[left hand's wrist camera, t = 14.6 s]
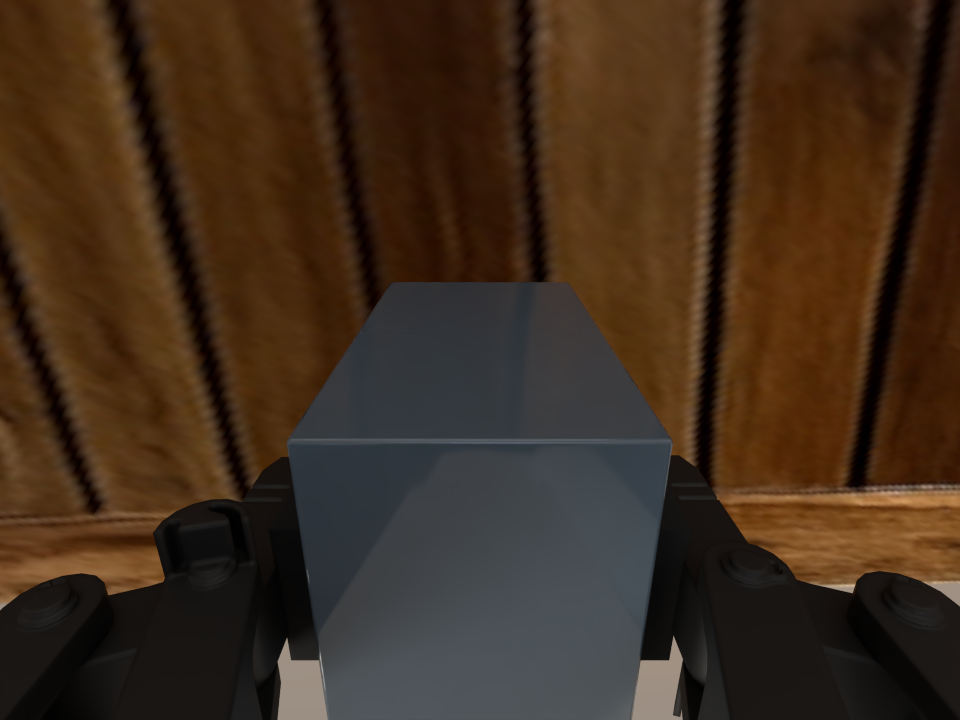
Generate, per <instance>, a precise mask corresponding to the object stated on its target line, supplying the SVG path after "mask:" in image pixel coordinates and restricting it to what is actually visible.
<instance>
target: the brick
mask: <svg viewBox="0 0 960 720" xmlns="http://www.w3.org/2000/svg"><path fill="white" fill-rule="evenodd" d="M672 444H673V442H672V439H671V437H670V436H669V434H668V433H667V431H666V430H665V428H664V427H663V425H662V424H661V422H660V421H659V419H658V418H657V416H656V414H655V413H654V411H653V410H652V408H651V407H650V405H649V404H648V402H647V401H646V399H645V398H644V396H643V395H642V393H641V392H640V390H639V389H638V387H637V386H636V384H635V383H634V381H633V380H632V378H631V377H630V375H629V374H628V372H627V371H626V369H625V368H624V366H623V364H622V363H621V361H620V360H619V358H618V357H617V355H616V354H615V352H614V351H613V349H612V348H611V346H610V345H609V343H608V342H607V340H606V339H605V337H604V336H603V334H602V333H601V331H600V330H599V328H598V327H597V325H596V324H595V322H594V321H593V319H592V317H591V316H590V314H589V313H588V311H587V310H586V308H585V307H584V305H583V304H582V302H581V301H580V299H579V298H578V296H577V295H576V293H575V292H574V290H573V289H572V287H571V286H570V284H569V283H567V282H393V283H391V284H390V285H389V287H388V288H387V290H386V291H385V293H384V294H383V296H382V297H381V299H380V300H379V302H378V303H377V305H376V306H375V308H374V309H373V311H372V312H371V314H370V315H369V317H368V318H367V320H366V321H365V323H364V324H363V326H362V328H361V329H360V331H359V332H358V334H357V335H356V337H355V338H354V340H353V341H352V343H351V344H350V346H349V347H348V349H347V350H346V352H345V353H344V355H343V356H342V358H341V359H340V361H339V362H338V364H337V365H336V367H335V368H334V370H333V371H332V373H331V374H330V376H329V377H328V379H327V380H326V382H325V383H324V385H323V386H322V388H321V389H320V391H319V392H318V394H317V396H316V397H315V399H314V400H313V402H312V403H311V405H310V406H309V408H308V409H307V411H306V412H305V414H304V415H303V417H302V418H301V420H300V421H299V423H298V424H297V426H296V427H295V429H294V430H293V432H292V433H291V435H290V436H289V438H288V440H287V448H288V455H289V461H290V468H291V475H292V482H293V488H294V495H295V502H296V509H297V515H298V522H299V529H300V536H301V542H302V549H303V556H304V562H305V569H306V576H307V583H308V589H309V596H310V603H311V610H312V616H313V623H314V630H315V637H316V643H317V650H318V657H319V663H320V670H321V677H322V684H323V690H324V697H325V704H326V711H327V717H328V720H632V714H633V707H634V700H635V694H636V687H637V680H638V673H639V667H640V660H641V653H642V646H643V640H644V633H645V626H646V619H647V613H648V606H649V599H650V592H651V586H652V579H653V572H654V565H655V559H656V552H657V545H658V538H659V532H660V525H661V518H662V511H663V505H664V498H665V491H666V484H667V478H668V471H669V464H670V457H671V451H672Z"/></svg>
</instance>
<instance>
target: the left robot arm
mask: <svg viewBox="0 0 960 720" xmlns="http://www.w3.org/2000/svg"><path fill="white" fill-rule="evenodd" d="M153 535H154V538H155V542H156V546H157V550H158V553H159V557H160V561H161V564H162V568H163V572H164V575H165V579H164V582H162V583H158V584H155V585H152V586H148V587H144V588H139V589H135V590H130V591H126V592H122V593H117V594H113V595H108V593H107V590H106V587H105V583H104V582H103V581H102V580H101V579H99V578H98V577H97V576H95V575H89V574H82V573H81V574H73V575H66V576H61V577H58V578H55V579H52V580H49V581H46V582H43V583H40V584H39V585H37V586H35V587H33V588H31V589H29V590H27V591H25V592H24V593H22V594H20V595H19V596H17V597H16V598H15V599H14V600H12V601H11V602H10V603H8V604H7V605H6V606H5V607H3V608H2V609H1V610H0V720H277V718H278V707H279V697H280V687H281V680H280V674H279V668H278V662H277V661H278V659H279V656H280V654H281V651H282V649H283V646H284V644H285V641H286V639H288V644H289V650H290V656H291V660H319V657H318V650H317V643H316V637H315V630H314V623H313V616H312V610H311V603H310V596H309V589H308V583H307V576H306V569H305V562H304V556H303V549H302V542H301V536H300V529H299V522H298V515H297V509H296V502H295V495H294V488H293V482H292V475H291V468H290V461H289V457H281V458H280V459H278V460H277V461H275V462H274V463H273V464H271V465H270V466H269V467H267V468H266V469H264V470H263V471H262V473H261V474H260V476H259V477H258V479H257V480H256V482H255V483H254V485H253V489H250V491H249V492H248V494H247V495H246V497H245V498H244V502H238V501H234V500H230V499H215V500H208V501H203V502H199V503H195V504H192V505H190V506H187V507H185V508H183V509H181V510H178V511H176V512H175V513H173V514H172V515H170V516H169V517H168V518H166V519H165V520H163V521H162V522H161V523H160V525H159V526H158V527H157V529H156V530H155V531H154V532H153ZM673 635H674V638H675V640H676V643H677V645H678V648H679V650H680V653H681V655H682V658H683V662H682V668H681V673H680V678H679V684H678V689H677V694H676V700H675V706H674V712H673V715H674V716H678V717H680V715H681V710H682V716H683V720H960V606H958V605H957V604H956V603H955V602H953V601H952V600H951V599H950V598H948V597H947V596H946V595H944V594H943V593H942V592H940V591H938V590H936V589H935V588H933V587H931V586H929V585H927V584H925V583H923V582H921V581H919V580H916V579H913V578H910V577H908V576H904V575H901V574H897V573H890V572H882V571H878V572H871V573H865V574H864V575H863V576H862V577H860V578H859V579H858V580H857V582H856V585H855V588H854V591H853V593H849V592H844V591H839V590H835V589H831V588H827V587H822V586H818V585H813V584H810V583H806V582H803V581H799V580H796V578H795V576H794V575H793V573H792V572H791V570H790V569H789V567H788V566H787V564H785V563H784V562H783V561H782V560H780V559H779V558H778V557H777V556H775V555H774V554H773V553H771V552H769V551H767V550H765V549H763V548H761V547H759V546H756V545H752V544H749V543H748V542H747V541H746V539H745V538H744V536H743V535H742V534H741V532H740V531H739V529H738V528H737V526H736V525H735V523H734V522H733V520H732V519H731V517H730V516H729V514H728V513H727V511H726V510H725V508H724V507H723V505H722V504H721V503H720V501H719V500H717V497H716V495H715V494H714V492H713V491H712V489H711V488H710V487H708V483H707V482H706V480H705V479H704V477H703V476H702V475H701V473H700V472H699V470H698V469H697V468H696V467H694V466H693V465H692V464H690V463H689V462H687V461H686V460H685V459H683V458H682V457H680V456H679V455H671V457H670V464H669V471H668V478H667V484H666V491H665V498H664V505H663V511H662V518H661V525H660V532H659V538H658V545H657V552H656V559H655V565H654V572H653V579H652V586H651V592H650V599H649V606H648V613H647V619H646V626H645V633H644V640H643V646H642V653H641V660H669V658H670V652H671V646H672V641H673Z"/></svg>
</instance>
